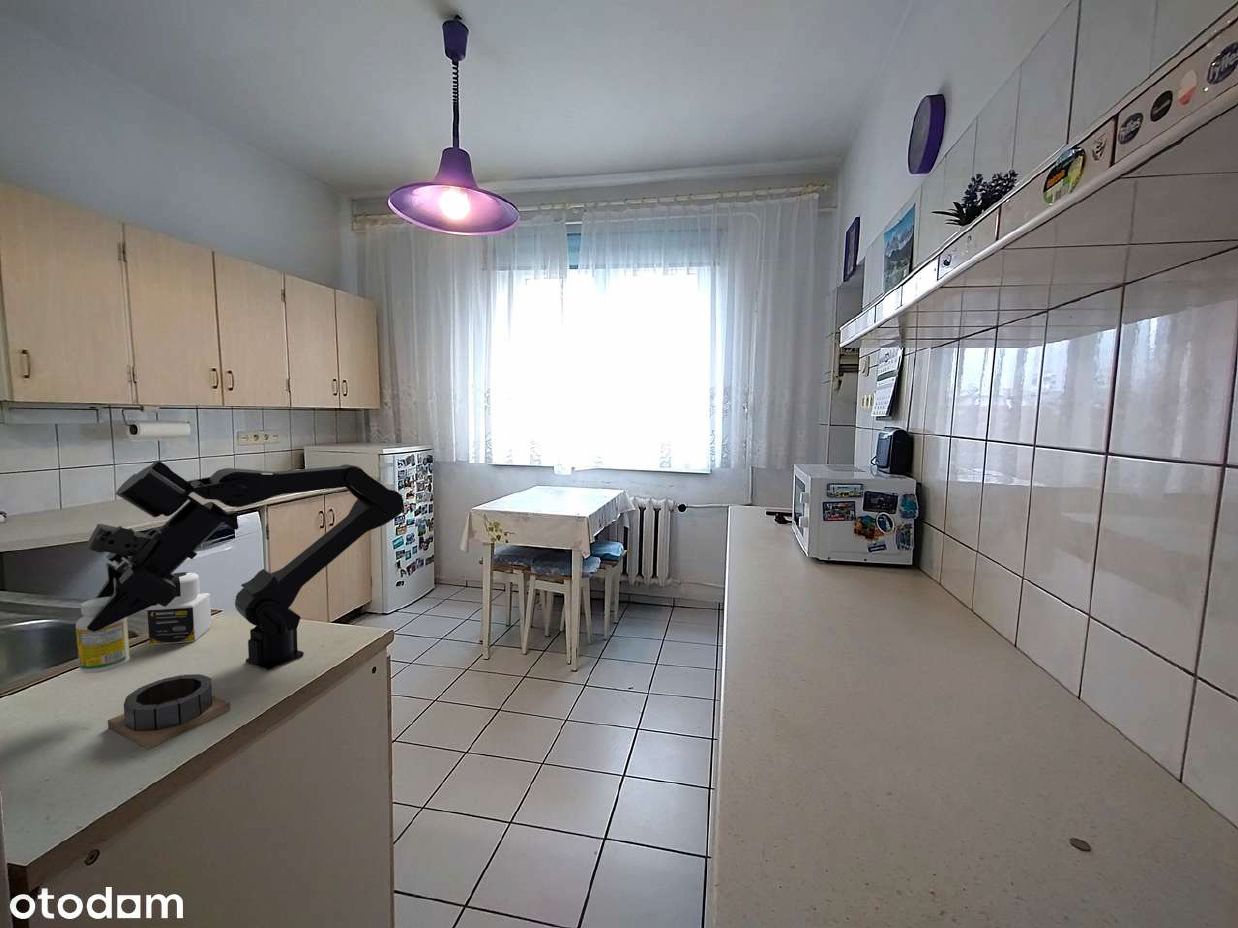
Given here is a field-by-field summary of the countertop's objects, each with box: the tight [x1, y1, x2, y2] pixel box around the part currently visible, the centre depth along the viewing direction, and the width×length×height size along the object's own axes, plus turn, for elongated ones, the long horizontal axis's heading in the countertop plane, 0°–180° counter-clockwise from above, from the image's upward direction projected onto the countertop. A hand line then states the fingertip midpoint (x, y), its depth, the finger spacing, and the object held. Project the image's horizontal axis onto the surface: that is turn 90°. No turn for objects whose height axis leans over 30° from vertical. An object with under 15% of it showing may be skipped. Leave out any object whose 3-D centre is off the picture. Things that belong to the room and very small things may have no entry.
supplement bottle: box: [75, 597, 131, 674], centre depth 77 cm, size 5×5×10 cm
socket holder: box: [107, 673, 231, 750], centre depth 76 cm, size 10×10×4 cm
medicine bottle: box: [146, 571, 212, 646], centre depth 102 cm, size 7×7×12 cm
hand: (88, 623), depth 76 cm, fingers closed on supplement bottle, 5 cm apart
